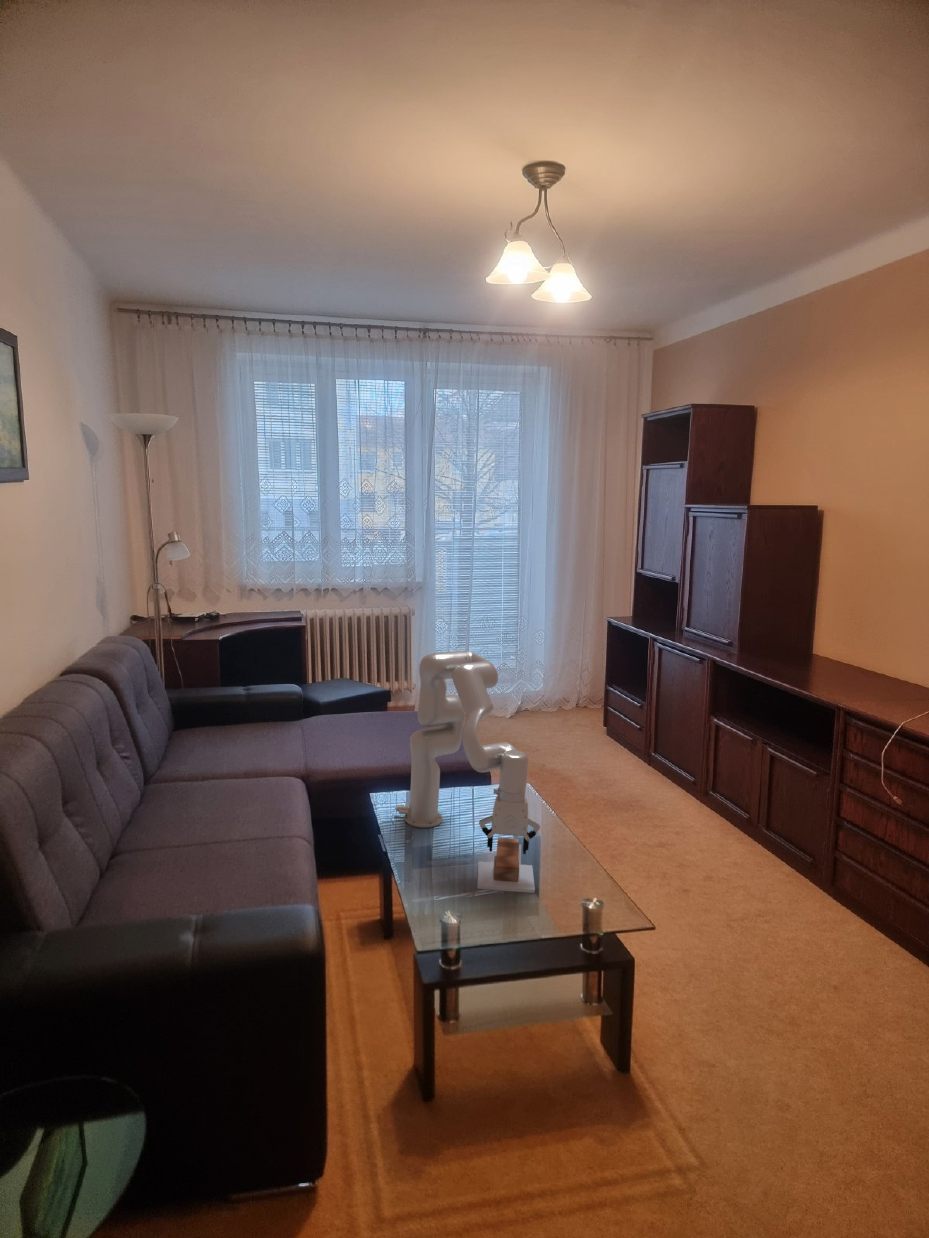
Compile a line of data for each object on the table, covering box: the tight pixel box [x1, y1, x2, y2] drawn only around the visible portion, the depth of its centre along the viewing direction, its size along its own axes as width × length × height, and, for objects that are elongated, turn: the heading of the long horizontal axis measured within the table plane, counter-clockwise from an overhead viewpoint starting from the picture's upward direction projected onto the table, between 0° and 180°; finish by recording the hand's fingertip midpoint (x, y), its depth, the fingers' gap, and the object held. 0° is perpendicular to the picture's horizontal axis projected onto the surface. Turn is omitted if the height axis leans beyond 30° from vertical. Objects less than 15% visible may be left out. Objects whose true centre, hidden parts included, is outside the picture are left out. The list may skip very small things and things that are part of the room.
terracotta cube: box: [495, 836, 520, 868], centre depth 218 cm, size 6×6×6 cm
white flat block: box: [476, 855, 536, 894], centre depth 219 cm, size 16×14×5 cm
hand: (507, 850), depth 218 cm, fingers open, 9 cm apart
